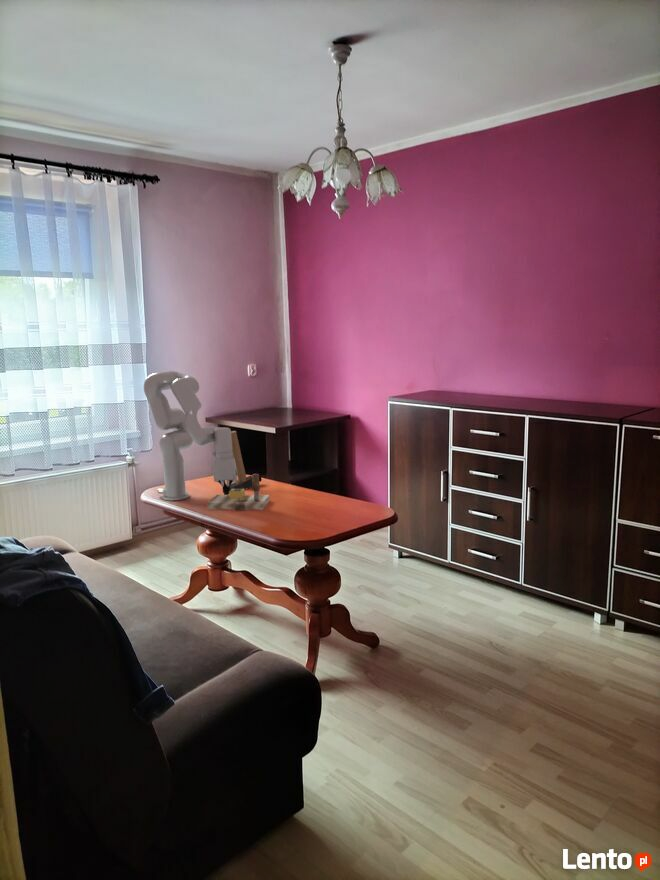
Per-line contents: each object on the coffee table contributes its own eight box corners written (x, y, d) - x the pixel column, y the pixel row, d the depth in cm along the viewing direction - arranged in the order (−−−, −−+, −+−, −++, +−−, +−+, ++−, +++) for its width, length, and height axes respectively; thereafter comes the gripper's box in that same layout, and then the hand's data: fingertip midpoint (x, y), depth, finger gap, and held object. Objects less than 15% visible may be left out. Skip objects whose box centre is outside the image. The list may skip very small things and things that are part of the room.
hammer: (229, 497, 314) (216, 439, 306) (224, 495, 318) (211, 438, 309) (262, 482, 327) (250, 426, 318) (256, 480, 330) (244, 425, 322)
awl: (252, 501, 285) (251, 475, 283) (254, 499, 288) (252, 473, 286) (259, 501, 285) (257, 475, 283) (260, 499, 288) (259, 473, 286)
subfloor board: (206, 510, 285) (206, 503, 284) (218, 499, 301) (217, 493, 301) (261, 510, 281) (261, 504, 281) (270, 500, 298) (270, 494, 298)
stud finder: (229, 498, 292) (228, 490, 292) (232, 495, 297) (231, 488, 297) (242, 498, 292) (241, 491, 291) (244, 495, 297) (244, 488, 296)
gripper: (205, 456, 289) (208, 496, 292) (237, 456, 287) (240, 496, 290) (210, 453, 296) (213, 492, 300) (242, 453, 294) (244, 492, 297)
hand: (226, 494), depth 295 cm, fingers closed
